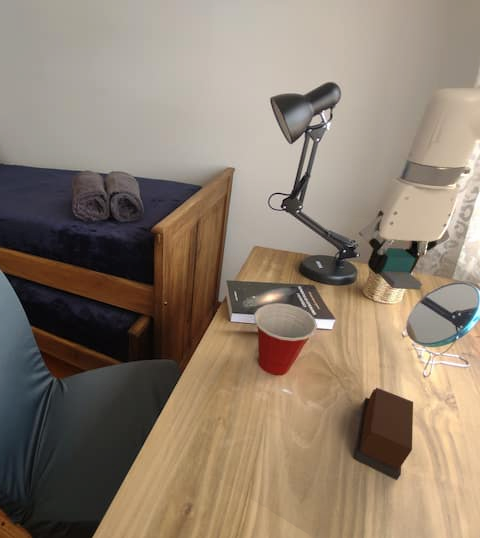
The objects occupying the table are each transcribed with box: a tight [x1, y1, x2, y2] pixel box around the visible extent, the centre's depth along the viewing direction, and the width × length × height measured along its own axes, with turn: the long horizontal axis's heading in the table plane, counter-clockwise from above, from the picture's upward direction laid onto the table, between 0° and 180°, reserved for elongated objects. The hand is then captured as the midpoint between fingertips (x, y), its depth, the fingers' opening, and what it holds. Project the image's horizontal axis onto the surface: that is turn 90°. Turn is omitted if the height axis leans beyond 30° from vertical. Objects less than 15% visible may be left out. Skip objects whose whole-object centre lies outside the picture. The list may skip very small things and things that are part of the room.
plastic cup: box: [253, 302, 318, 376], centre depth 69 cm, size 11×11×12 cm
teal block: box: [378, 247, 423, 291], centre depth 65 cm, size 9×4×4 cm, turn 173°
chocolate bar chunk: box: [353, 387, 414, 481], centre depth 57 cm, size 13×6×6 cm, turn 144°
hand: (388, 270), depth 67 cm, fingers closed on teal block, 4 cm apart
